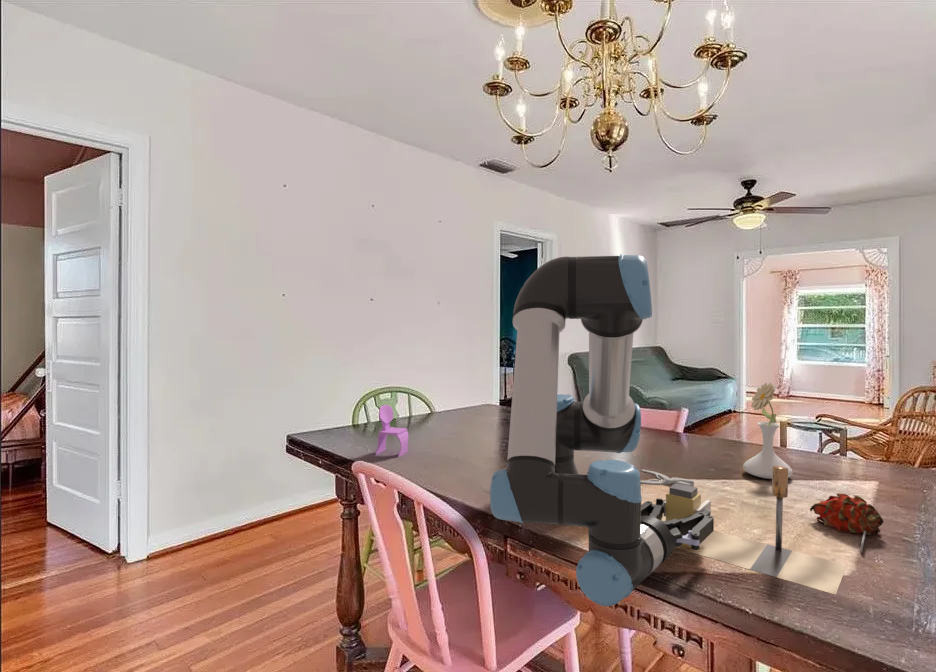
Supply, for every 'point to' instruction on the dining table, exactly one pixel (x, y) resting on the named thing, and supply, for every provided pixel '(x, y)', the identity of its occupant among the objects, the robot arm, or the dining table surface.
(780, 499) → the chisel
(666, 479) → the pliers
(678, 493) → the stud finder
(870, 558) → the dining table surface
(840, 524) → the dragon fruit
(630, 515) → the robot arm
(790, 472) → the flower in vase
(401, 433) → the toy chair
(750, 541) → the plank
